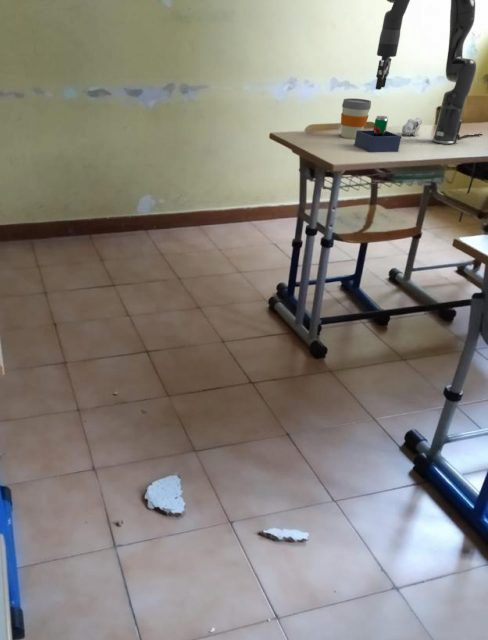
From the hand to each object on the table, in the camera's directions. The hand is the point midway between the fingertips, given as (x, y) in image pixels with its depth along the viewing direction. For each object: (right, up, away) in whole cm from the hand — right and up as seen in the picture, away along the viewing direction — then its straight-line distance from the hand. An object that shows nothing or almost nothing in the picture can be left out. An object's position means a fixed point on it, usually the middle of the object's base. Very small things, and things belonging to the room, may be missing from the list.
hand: (380, 88), depth 247 cm
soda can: (+2, -20, +11) cm, 23 cm away
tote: (+2, -20, +11) cm, 23 cm away
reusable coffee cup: (-4, -7, +30) cm, 31 cm away
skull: (+27, -2, +39) cm, 47 cm away
